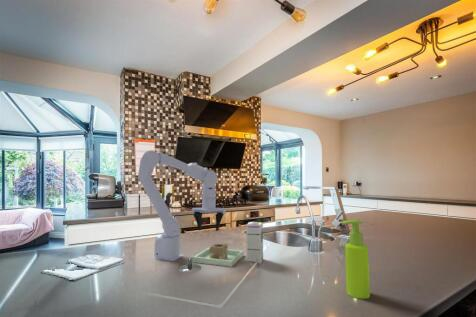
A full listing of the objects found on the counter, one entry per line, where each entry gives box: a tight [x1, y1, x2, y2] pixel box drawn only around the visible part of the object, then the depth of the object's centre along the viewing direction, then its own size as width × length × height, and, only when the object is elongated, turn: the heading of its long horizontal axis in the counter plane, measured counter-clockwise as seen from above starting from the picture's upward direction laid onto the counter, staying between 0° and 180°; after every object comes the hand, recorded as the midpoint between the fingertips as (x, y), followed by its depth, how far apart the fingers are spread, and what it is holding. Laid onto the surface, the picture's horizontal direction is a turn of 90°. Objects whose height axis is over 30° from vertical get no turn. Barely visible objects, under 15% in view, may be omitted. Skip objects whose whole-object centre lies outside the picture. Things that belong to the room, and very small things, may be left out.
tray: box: [192, 247, 244, 268], centre depth 98 cm, size 16×14×2 cm
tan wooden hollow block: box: [209, 243, 229, 260], centre depth 98 cm, size 7×5×5 cm
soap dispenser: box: [340, 219, 371, 300], centre depth 70 cm, size 6×7×20 cm
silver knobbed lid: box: [177, 257, 202, 274], centre depth 88 cm, size 8×8×4 cm
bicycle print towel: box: [42, 253, 125, 281], centre depth 91 cm, size 19×20×2 cm
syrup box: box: [245, 221, 264, 264], centre depth 98 cm, size 6×6×14 cm
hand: (208, 230), depth 107 cm, fingers open, 7 cm apart
